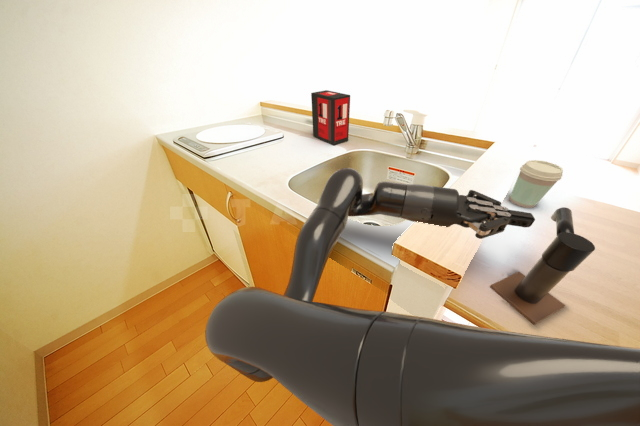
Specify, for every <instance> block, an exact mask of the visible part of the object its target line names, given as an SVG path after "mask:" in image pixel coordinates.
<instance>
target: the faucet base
mask: <svg viewBox="0 0 640 426" xmlns="http://www.w3.org/2000/svg"><path fill="white" fill-rule="evenodd" d="M570 272H571V271H562V270H559V269H556V268H554V267H552V266H550V265H549V264H548V263H546V262H545V261H544V260H543V258H542V256H541V257H540V259H538V260H537V262H536V263H535V264H534V265H533V266H532V268H531V269H530V270H529V271H528V273H526V275H525V274H523V273H522V272H520V271H517V272H515V273H513V274H511V275H508V276H506V277H505V278H502V279H501V280H497V281H496V282H495V283H493V284H490V285H489V288H490V289H491V290H492V291H494V292H495V293H496V294H497V295H499V296H500V297H501V298H502V299H503V300H505V302H507V304H508V305H510V306H511V307H513V308H514V309H515V310H516V311H517V312H518V313H520V315H522V317H524V318H526V319H527V320H528V321H529V322H530V323H531V324H532V325H534V326H535V325H536V324H538V323H540V322H542V321H543V320H545V319H547V318H548V317H550V316H552V315H554V314H555V313H557V312H559V311H561V310H562V309H564V308H565V307H566V304H565V303H563V302H561V300H559V299H557V298H556V297H555V296H554V295H552V294H551V293H550V292H551V291H552V290H553V289H554V288H555V287H556V286H557V285H558V284H559V283H560V282H561V281H562V280H563V279H564V278H565V277H566V276H567V275H568V274H569V273H570Z"/></svg>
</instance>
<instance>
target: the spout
mask: <svg viewBox="0 0 640 426" xmlns="http://www.w3.org/2000/svg"><path fill="white" fill-rule="evenodd" d="M573 218H574V217H573V212H572V210H571V209H570V208H569V207H559V208H557V209H555V211H554V212H553V213H552V214H551V216H550V219H551V221H553V222H555V226H556V228H555V229H556V236H555V237H554V239H553V240H552V241H551V243H550V244H549V245H548V246H547V247H546V248H545V250H543V252H542V254H541V257H542V258H543V260H544V261H545V262H546V263H548V264H549V265H550V266H552V267H554V268H556V269H559V270H562V271H570V272H573V271H575V270H576V269H577V268H578V267H579V266H580V265H581V264H582V263H583V262H584V261H585V260H586V259H587V258H588V257H589V256H590V255H591V254H593V252H594V251H595V250H596V246H595V245H594V243H593V242H592V241H590V240H589V239H588V238H586V237H584V236H582V235H579V234H576V233H575V227H574V219H573Z"/></svg>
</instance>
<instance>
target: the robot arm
mask: <svg viewBox="0 0 640 426" xmlns="http://www.w3.org/2000/svg"><path fill="white" fill-rule="evenodd" d="M363 188H364V180H363V177H362V175H361V173H360V172H359V171H358V170H356V169H355V168H352V167H343V168H339V169H338V170H336V171H334V172H333V173H332V174H331V175H330V176H329V177H328V179H327V181H326V183H325V185H324V187H323V190H322V192H321V195H320V197H319V200H318V202H317V205H316V207H315V208H314V209H313V210H312V211H311V213H310V214H309V216H308V217H307V219H306V220H305V221H304V222H303V224H302V226H301V228H300V230H299V232H298V235H297V237H296V241H295V245H294V249H293V250H294V251H293V258H292V265H291V271H290V275H289V279H288V283H287V285H286V287H285V291H284V293H283V294H281V293H277V292H274V291H271V290H268V289H266V288H262V287H260V286H259V287H258V286H245V287H241V288H239V289H236V290H234V291H231V292H230V293H229V294H227V295H226V296H224V297H223V298H222V299H220V300H219V302H218V303H217V304H216V305H214V307H213V309H212V310H211V312H210V314H209V316H208V318H207V321H206V325H205V331H204V337H205V343H206V346H207V348H208V350H209V352H210V353H211V354H212V355H213V356H214V357H215V358H216V359H217V360H219V361H220V362H221V363H224V364H225V365H228V366H229V367H230V368H231V369H233V370H234V371H237V372H238V373H239V374H241V375H243V376H244V377H245V378H246V379H249V380H250V381H253V382H256V383H264V382H269V381H270V380H272V379H274V380H276V381H277V382H278V383H279V384H281V385H282V386H283V387H284V388H285V389H286V390H287V391H289V392H290V393H291V394H292V395H293V396H294V397H296V398H297V399H299V401H301V402H302V403H303V405H306V406H307V408H309V409H311V410H312V411H313V412H315V413H316V414H317V415H318V416H320V418H322V419H324V421H326V422H328V423H329V424H330V425H331V426H640V347H634V346H633V347H632V346H624V345H617V344H616V345H615V344H608V343H600V342H599V343H598V342H591V341H582V340H575V339H568V338H567V339H566V338H557V337H550V336H544V335H537V334H530V333H524V332H523V333H522V332H515V331H508V330H502V329H501V330H500V329H495V328H489V327H487V328H486V327H481V326H474V325H469V324H464V323H457V322H453V321H447V320H441V319H435V318H430V317H425V316H419V315H411V314H406V313H397V312H392V311H382V310H374V309H373V310H371V309H364V308H357V307H350V306H344V305H338V304H331V303H325V302H320V301H319V302H318V301H314V299H315V296H316V293H317V290H318V287H319V284H320V281H321V278H322V275H323V273H324V270H325V268H326V265H327V263H328V260H329V258H330V256H331V254H332V252H333V250H334V249H335V246H336V245H337V243H338V241H339V239H340V237H341V236H342V234H343V232H344V231H345V228H346V227H347V223H348V220H349V217H366V216H367V217H368V216H378V215H381V216H387V217H392V218H398V219H399V218H400V219H402V220H406V221H410V222H414V223H419V222H423V223H422V224H425V223H428V224H427V225H430V224H434V225H433V226H436V225H439V226H438V227H442V226H446V227H445V228H449V227H451V226H453V225H457V226H460V227H462V228H466V229H468V228H470V229H471V230H473V231H474V232H475V234H474V235H475V237H476V238H477V239H485V238H489V237H492V236H495V235H497V234H498V235H499V234H500V233H503V232H505V230H506V228H507V226H512V227H514V226H515V227H520V228H530V227H531V226H532V225H533V224H534V223H535V221H536V218H535V217H534V215H533V213H532V212H526V211H520V210H513V209H509V208H508V207H507V206H503V205H502V201H500V200H497V199H495V198H493V197H490V196H488V195H486V194H483V193H481V192H478V191H476V190H473V189H469V191H468V192H467V194H466V195H464V194H460V193H459V191H458V190H457V189H455V188H451V187H450V188H449V187H442V186H435V185H425V184H418V183H415V184H414V183H413V184H412V183H411V184H410V183H409V184H408V183H402V182H395V181H394V182H393V181H386V180H385V181H379V182H378V183H377V184H376V185H375V187H374V190H373V192H370V193H363ZM417 221H418V222H417Z"/></svg>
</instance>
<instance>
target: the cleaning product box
mask: <svg viewBox="0 0 640 426" xmlns="http://www.w3.org/2000/svg"><path fill="white" fill-rule="evenodd" d="M310 96H311V117H312V137H313V138H316V139H318V140H321V141H322V142H325V143H327V144H329V145H331V146H337V145H340V144H341V145H342V144H344V143H347V142H348V141H349V130H350V111H351V110H350V109H351V94H346V93H341V92H338V91H332V90H327V89H326V90H320V91H314V92H311V94H310Z"/></svg>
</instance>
